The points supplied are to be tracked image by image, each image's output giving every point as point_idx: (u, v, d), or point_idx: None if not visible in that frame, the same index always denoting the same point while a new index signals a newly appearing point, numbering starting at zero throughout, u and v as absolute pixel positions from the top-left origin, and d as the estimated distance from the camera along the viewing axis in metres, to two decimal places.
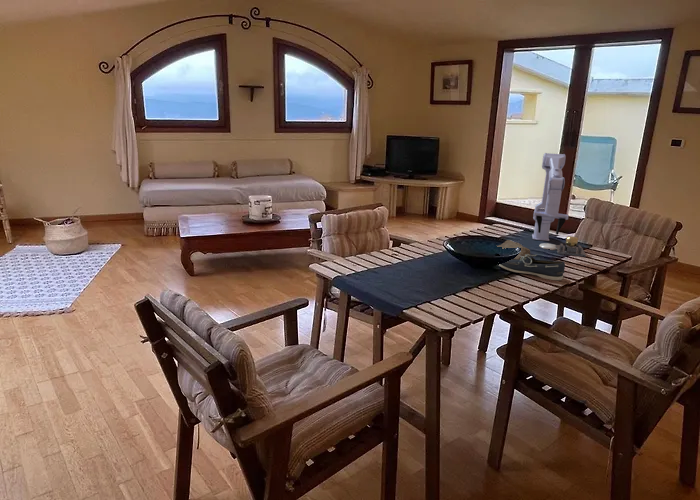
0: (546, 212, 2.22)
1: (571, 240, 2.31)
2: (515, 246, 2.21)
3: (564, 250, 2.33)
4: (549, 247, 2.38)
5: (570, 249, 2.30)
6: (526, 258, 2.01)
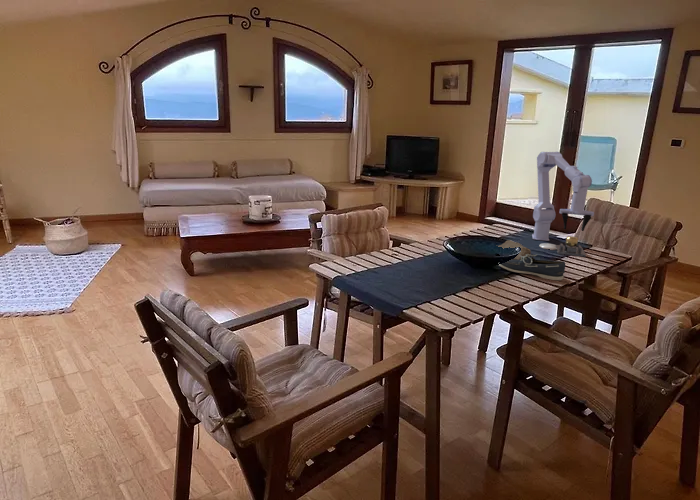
0: (572, 209, 2.29)
1: (571, 240, 2.31)
2: (516, 246, 2.21)
3: (564, 250, 2.33)
4: (549, 247, 2.38)
5: (570, 249, 2.30)
6: (526, 258, 2.01)
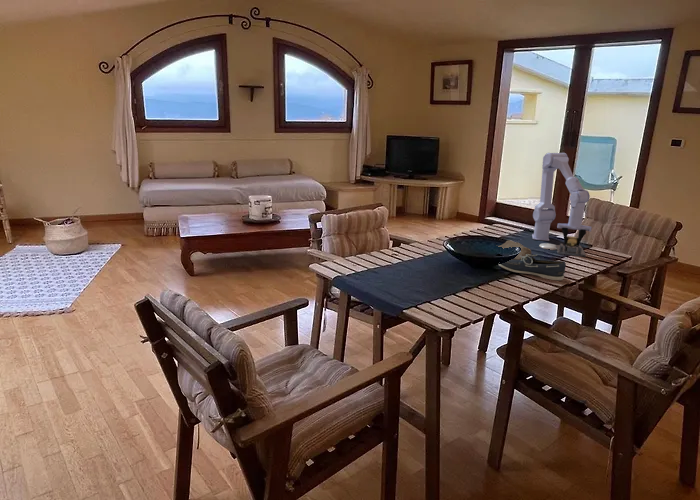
0: (570, 224, 2.29)
1: (571, 240, 2.31)
2: (516, 246, 2.21)
3: (564, 250, 2.33)
4: (549, 247, 2.38)
5: (570, 249, 2.30)
6: (527, 258, 2.01)
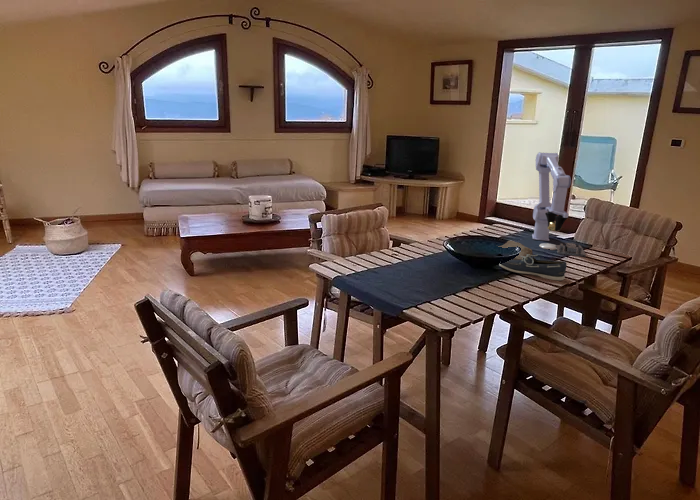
0: None
1: (549, 224, 2.37)
2: None
3: (564, 250, 2.33)
4: (549, 247, 2.38)
5: (570, 249, 2.30)
6: (528, 258, 2.01)
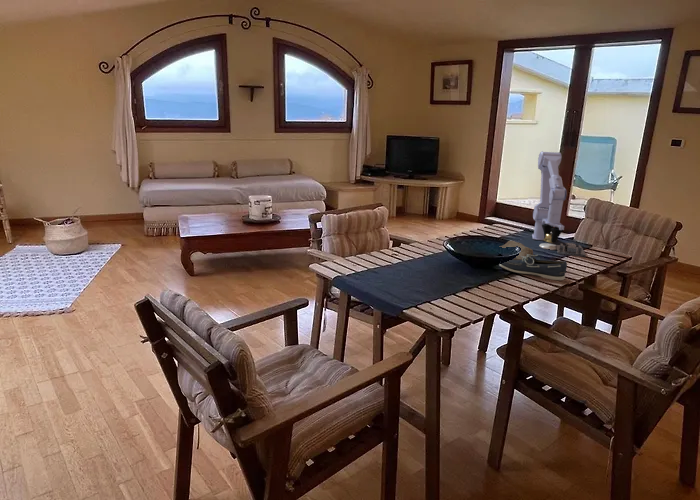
0: None
1: None
2: (518, 246, 2.20)
3: (564, 250, 2.33)
4: (549, 247, 2.38)
5: (570, 249, 2.30)
6: (528, 258, 2.01)
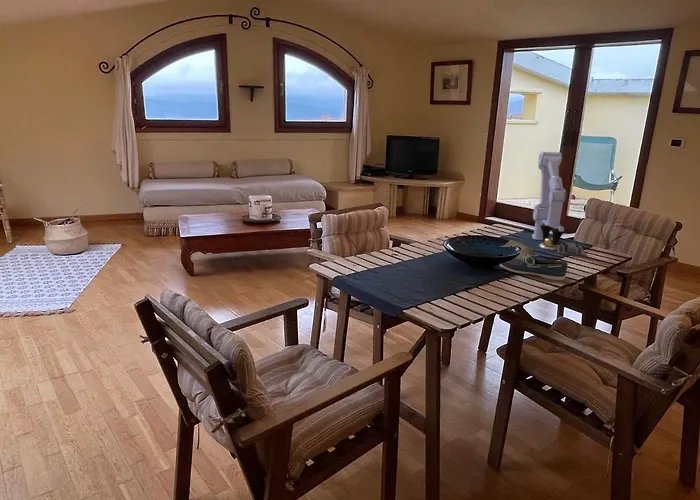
0: None
1: (545, 240, 2.40)
2: (519, 246, 2.20)
3: (564, 250, 2.33)
4: (549, 247, 2.38)
5: (570, 249, 2.30)
6: (528, 258, 2.01)
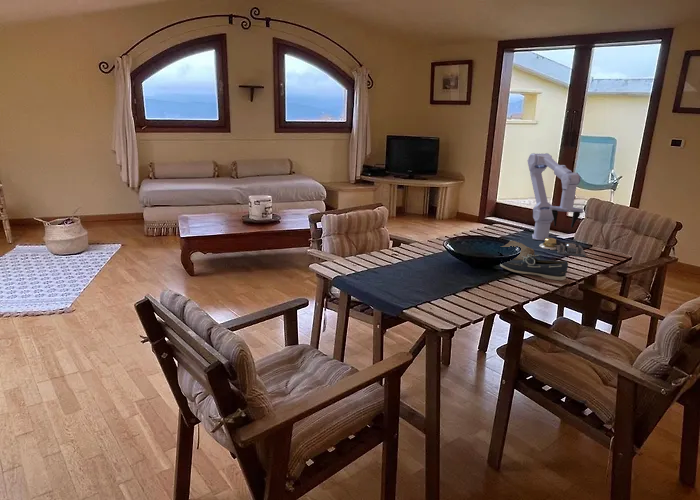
0: (561, 206, 2.35)
1: (545, 240, 2.40)
2: (519, 246, 2.20)
3: (564, 250, 2.33)
4: (549, 247, 2.38)
5: (570, 249, 2.30)
6: (529, 258, 2.01)
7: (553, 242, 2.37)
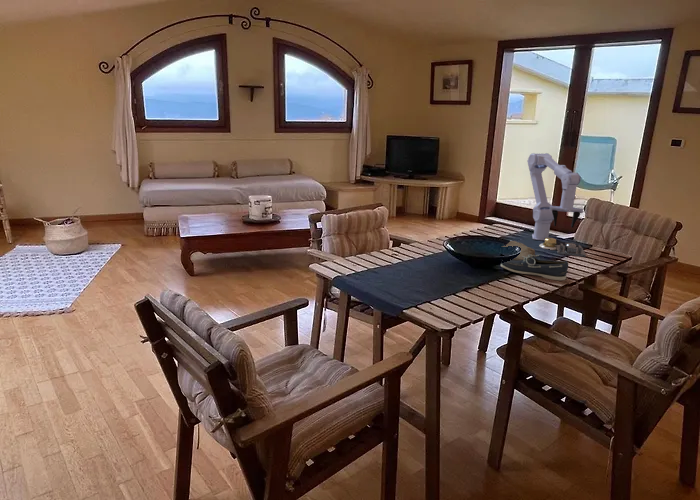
0: (562, 206, 2.35)
1: (545, 240, 2.40)
2: (520, 247, 2.20)
3: (564, 250, 2.33)
4: (549, 247, 2.38)
5: (570, 249, 2.30)
6: (529, 259, 2.00)
7: (553, 242, 2.37)
